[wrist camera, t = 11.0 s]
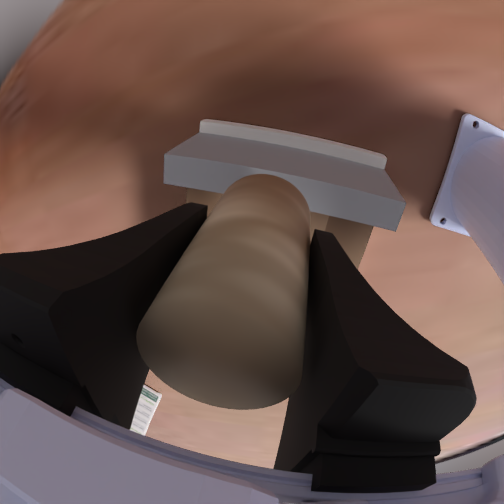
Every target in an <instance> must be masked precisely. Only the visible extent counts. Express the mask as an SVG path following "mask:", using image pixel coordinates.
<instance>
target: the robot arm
mask: <svg viewBox="0 0 504 504" xmlns="http://www.w3.org/2000/svg"><path fill="white" fill-rule="evenodd" d="M474 121H476V127H473V122H474ZM207 210H208V205H203V204H198V203H193V202H190V203H187V204H184V205H182V206H179V207H177V208H175V209H173V210H170V211H168V212H166V213H164V214H161V215H159V216H157V217H155V218H153V219H150V220H148V221H145V222H143V223H141V224H138V225H136V226H133V227H131V228H128V229H126V230H123V231H120V232H118V233H115V234H112V235H108V236H105V237H102V238H99V239H95V240H91V241H87V242H83V243H79V244H74V245H70V246H65V247H60V248H54V249H47V250H40V251H32V252H18V253H2V254H0V504H287V503H294V504H504V454H503V455H500V456H498V457H496V458H494V459H492V460H491V461H489V462H488V463H486V464H485V465H484V466H483V467H481V468H476V469H470V470H464V471H458V472H450V473H442V474H436V470H435V459H434V456H437V455H439V454H440V451H441V449H440V441H439V440H441V439H442V438H443V437H445V436H446V435H447V434H449V433H450V432H451V431H452V430H454V429H455V428H456V427H457V426H459V425H460V424H461V423H462V422H463V421H464V420H465V419H466V418H467V417H468V416H469V415H470V413H471V412H472V410H473V408H474V407H475V404H476V394H475V390H474V387H473V383H472V380H471V376H470V373H469V369H468V367H467V366H465V365H464V364H462V363H460V362H459V361H457V360H456V359H454V358H453V357H451V356H450V355H448V354H446V353H445V352H443V351H442V350H440V349H439V348H437V347H436V346H435V345H433V344H432V343H431V342H429V341H428V340H427V339H425V338H424V337H423V336H421V335H420V334H419V333H418V332H417V331H415V330H414V329H413V328H412V327H410V326H409V325H408V324H407V323H406V322H405V321H404V320H403V319H402V318H400V317H399V316H398V315H397V314H396V313H395V312H394V311H393V310H392V309H391V308H390V307H389V306H388V305H387V304H386V303H385V302H384V301H383V300H382V299H381V297H380V296H379V295H378V294H377V293H376V292H375V291H374V290H373V289H372V287H371V286H370V285H369V284H368V282H367V281H366V280H365V279H364V277H363V276H362V275H361V274H360V272H359V271H358V269H357V268H356V267H355V265H354V264H353V263H352V261H351V260H350V258H349V257H348V255H347V254H346V252H345V251H344V249H343V248H342V246H341V245H340V243H339V242H338V240H337V239H336V237H335V236H334V234H333V233H330V232H326V231H322V230H318V229H315V230H314V233H313V237H312V240H311V244H310V256H309V280H308V299H307V315H306V330H305V344H304V356H303V368H302V377H301V381H300V384H299V386H298V388H297V389H296V391H295V392H294V393H293V394H292V395H291V396H289V401H288V406H287V411H286V417H285V421H284V426H283V431H282V435H281V440H280V444H279V449H278V453H277V457H276V461H275V465H274V469H269V468H263V467H258V466H252V465H247V464H242V463H238V462H233V461H229V460H224V459H220V458H216V457H212V456H208V455H204V454H201V453H197V452H193V451H190V450H186V449H183V448H180V447H177V446H173V445H170V444H167V443H164V442H161V441H158V440H155V439H152V438H150V437H147V436H144V435H141V434H139V433H136V432H134V431H131V430H130V428H131V424H132V421H133V417H134V414H135V411H136V407H137V404H138V401H139V398H140V395H141V392H142V389H143V386H144V383H145V380H146V377H147V374H148V372H149V369H150V368H149V367H148V366H147V364H146V363H145V362H144V360H143V358H142V357H141V354H140V352H139V350H138V346H137V340H136V335H137V329H138V326H139V324H140V322H141V320H142V319H143V317H144V316H145V314H146V312H147V311H148V309H149V307H150V306H151V304H152V302H153V301H154V299H155V298H156V296H157V294H158V293H159V291H160V290H161V288H162V286H163V285H164V283H165V282H166V280H167V278H168V277H169V275H170V274H171V272H172V270H173V269H174V267H175V266H176V264H177V263H178V261H179V260H180V258H181V256H182V255H183V253H184V252H185V250H186V249H187V247H188V246H189V244H190V243H191V241H192V240H193V238H194V237H195V235H196V234H197V232H198V231H199V229H200V228H201V226H202V225H203V223H204V222H205V220H206V219H207ZM442 218H445V219H444V221H443V222H440V220H441V219H442ZM429 219H430V221H431V223H432V224H433V225H434V226H438V227H441V228H444V229H448V230H451V231H454V232H457V233H461V234H464V235H467V236H470V237H472V239H473V240H474V241H475V243H476V244H477V246H478V247H479V248H480V250H481V251H482V253H483V254H484V255H485V257H486V258H487V260H488V261H489V263H490V264H491V266H492V267H493V269H494V270H495V272H496V273H497V275H498V276H499V278H500V280H501V281H502V283H503V284H504V131H503V130H501V129H499V128H497V127H495V126H493V125H491V124H489V123H487V122H486V121H484V120H482V119H479V118H477V117H475V116H473V115H471V114H468V113H466V114H464V115H463V116H462V118H461V122H460V126H459V129H458V133H457V136H456V140H455V143H454V147H453V150H452V153H451V157H450V160H449V163H448V166H447V169H446V172H445V175H444V178H443V181H442V184H441V187H440V190H439V192H438V195H437V198H436V201H435V203H434V206H433V209H432V211H431V214H430V217H429ZM282 502H285V503H282Z"/></svg>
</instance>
